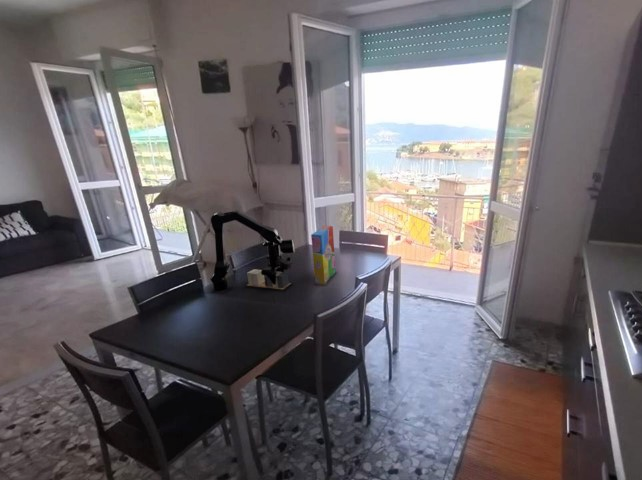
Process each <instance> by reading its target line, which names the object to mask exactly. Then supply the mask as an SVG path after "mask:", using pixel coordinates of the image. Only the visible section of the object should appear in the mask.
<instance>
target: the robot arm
mask: <svg viewBox="0 0 642 480" xmlns="http://www.w3.org/2000/svg"><path fill="white" fill-rule="evenodd" d="M233 221H236V222H238V223H240V224H242V225H244V226H245V227H248V228H249V229H251V230H253V231H254V232H256V233H257V234H259V235H260V237H262V238H263V239H265V241H264V242H263V244H262V247H267V256H266V259H268V262H269V263H268V264H267V266H265V267H264V268H262V269H260V270H261V274H262V275H264V276H266V275H267V276H268V277H269V279H270V280H271V281H272V283H273V284H274V285H276V274H277V273H276V271H277V272H285V271H287V270H289V269H290V268H291V266H292V265H293V258H292V257H290V256H288V257H287V258H285V257H283V255H282V254H294V253H295V244H294V239H292V238H291V239H283V238H282V236H280V235H279V233H278V230H277V229H276V228H274V227H271V226H270V225H269V226H268V225H264V224H261V223H260V222H258V221H256V220H255V219H253V218H251V217H250V216H248V215H245V214H244V213H243V212H241V211H240V210H237V209H236V210H233V211H226V212H220V211H219V212H216V213H214V214H213V215H212V216H211V217H210V224H211V228H212V230H213V233H214V241H215V242H214V243H215V259H216V260H215V264H214V269H213V275H212V276H210V277H211V278H209V280H210V282H211V283H212V286H213V289H214V291H215V292H222V291H226V290H227V289H228V282H227V281H228V280H227V278H226V276H227V275H228V273H229V272H230V271H231V267H230V264H231V262H230V261H227V259H226V243H225V241H226V240H225V230H226V226H227V223H230V222H233ZM281 253H282V254H281Z"/></svg>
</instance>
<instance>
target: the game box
mask: <svg viewBox="0 0 642 480" xmlns="http://www.w3.org/2000/svg"><path fill="white" fill-rule="evenodd" d="M310 238H311V247H312V248H311V249H312V259H313V260H312V261H313V270H314V271H313V272H314V274H313V275H314V283H315V284H317V285H318V284H321V285H323V286H326V284H328V282H329V279H330V278H331V277H333V276H334V275H335V274H336V271H337V270H336V255H335V241H334V240H335V239H334V227H333V225H323V226H322V227H321V228H319V229H317V230H316V231H315V232H313V233H311V234H310Z"/></svg>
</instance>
